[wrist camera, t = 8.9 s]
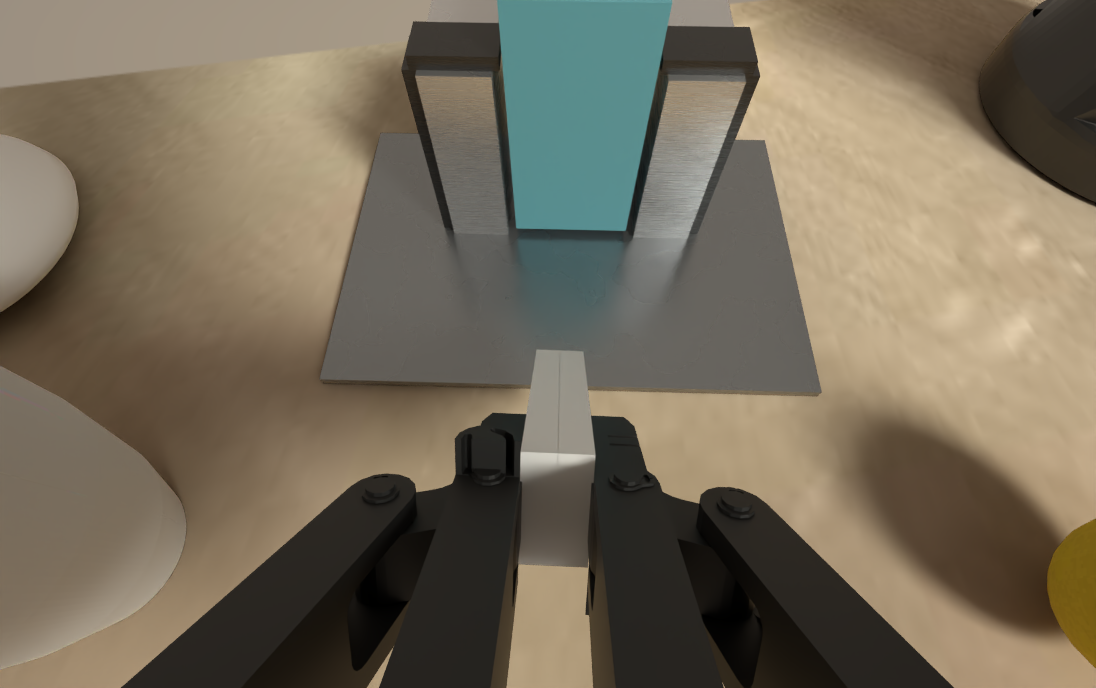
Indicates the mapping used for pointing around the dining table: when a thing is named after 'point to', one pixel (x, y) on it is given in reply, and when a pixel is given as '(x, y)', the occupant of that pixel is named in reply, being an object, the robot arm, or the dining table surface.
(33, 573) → the cup
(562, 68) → the teal post
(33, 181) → the flower in vase
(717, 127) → the steel clamp
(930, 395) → the dining table surface
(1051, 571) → the lemon
